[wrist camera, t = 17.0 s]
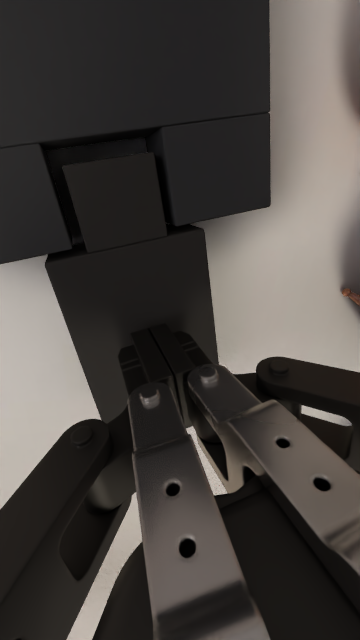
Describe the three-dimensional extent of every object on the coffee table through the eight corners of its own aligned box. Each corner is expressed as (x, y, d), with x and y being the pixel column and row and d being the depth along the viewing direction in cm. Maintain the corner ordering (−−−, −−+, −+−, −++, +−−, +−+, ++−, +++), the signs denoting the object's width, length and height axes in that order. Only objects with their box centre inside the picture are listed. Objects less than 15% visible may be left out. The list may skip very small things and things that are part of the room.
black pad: (100, 396, 16) (105, 430, 14) (22, 175, 11) (10, 173, 9) (203, 362, 17) (222, 388, 15) (174, 151, 12) (196, 144, 10)
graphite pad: (-35, 260, 12) (-60, 277, 9) (-237, -153, 7) (-377, -306, 5) (241, 203, 14) (271, 206, 12) (224, -123, 10) (268, -212, 7)
